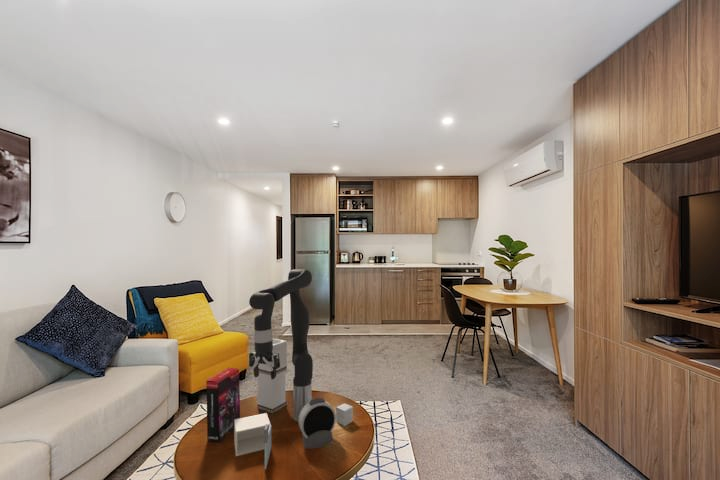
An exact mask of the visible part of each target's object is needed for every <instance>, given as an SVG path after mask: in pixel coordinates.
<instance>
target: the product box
mask: <svg viewBox="0 0 720 480" xmlns="http://www.w3.org/2000/svg"><path fill="white" fill-rule="evenodd" d="M335 413H336V423H337V424H340V425H341V426H344V427H346V426H348V425H349V424H351V423H352V422H354V407H353V406H352V405H350V404H347V403H342V404H341V405H338V406H336V411H335Z"/></svg>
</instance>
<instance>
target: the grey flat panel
mask: <svg viewBox="0 0 720 480" xmlns="http://www.w3.org/2000/svg"><path fill="white" fill-rule="evenodd" d="M264 444H265V449H264V470H267V467H268V463H269V459H270V455H271V452H272V424H270V426H269V430H268V424H266V426H265V429H264Z"/></svg>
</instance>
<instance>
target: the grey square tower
mask: <svg viewBox="0 0 720 480" xmlns="http://www.w3.org/2000/svg"><path fill="white" fill-rule="evenodd" d="M272 338H273V350H272V353H273V354H277V353H278V354H279V359H280V367H279V368H278V369H276V377H275V378H274V379H271V369H270V367H268V366H267V364H259V366H258V367H259V376H258V377H256V378H257V379H256V380H257V382H256V383H257V384H256V385H257V403H256V404H257V409H260V410H263V411H265V412H267V413H272V414H274V413H275V412H277V411H279V410H281V409H282V408H285V406H287V405H288V401H287V400H286V373H287V372H288V368H287V367H288V363H287V362H288V354H287V353H288V341H287V340H285V339H278V338H274V337H272ZM272 359H273V358H272ZM269 363H271V362H269ZM273 412H274V413H273Z"/></svg>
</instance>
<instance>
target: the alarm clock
mask: <svg viewBox="0 0 720 480" xmlns="http://www.w3.org/2000/svg"><path fill="white" fill-rule="evenodd" d="M312 399H313V400H311V401H310V402H309V403H307V404H306V405H305V406H304V407H303V409H302V410H301V412H300V415H299V420H298V421H297V422H298V427H299V430H300V431H301V434H302V437H301V442H302V444H303V446H304V447H305V449H306V450H311V449H312V450H313V449H319V448H322V447H325V446H327V445H330V444H332V443H333V442H334V437H333V433H332V431H333V430H334V428H335V426H336V423H337V422H336V411H335V409H334V408H333V407H332V406H331V404H330V403H329V402H328V401H327V400H325V399H324V398H323V397H316V398H312Z"/></svg>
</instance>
